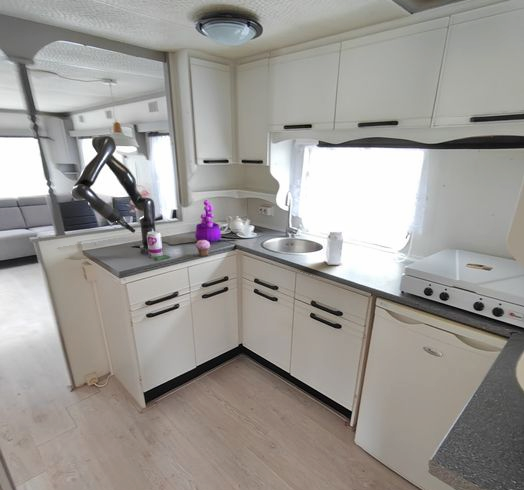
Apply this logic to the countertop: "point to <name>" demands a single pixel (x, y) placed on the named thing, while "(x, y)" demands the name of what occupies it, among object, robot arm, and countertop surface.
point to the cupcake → (203, 247)
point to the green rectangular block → (161, 257)
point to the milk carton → (334, 248)
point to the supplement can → (154, 244)
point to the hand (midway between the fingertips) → (134, 231)
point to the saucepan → (142, 248)
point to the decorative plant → (207, 226)
